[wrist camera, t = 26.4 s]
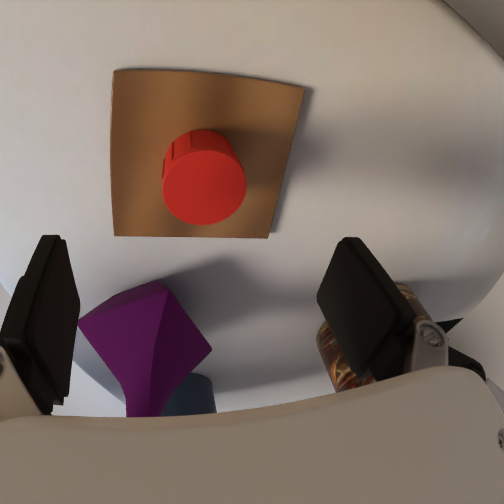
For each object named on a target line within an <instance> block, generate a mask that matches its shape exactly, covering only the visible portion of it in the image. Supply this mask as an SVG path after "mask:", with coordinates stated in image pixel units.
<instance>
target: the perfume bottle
mask: <svg viewBox="0 0 504 504" xmlns="http://www.w3.org/2000/svg"><path fill="white" fill-rule="evenodd" d="M77 325H78V327H79V329H80V330H81V331H82V333H83V334H84V336H85V337H86V338H87V340H88V341H89V342H90V344H91V345H92V347H93V348H94V349H95V351H96V352H97V353H98V354H99V356H100V357H101V358H102V360H103V361H104V362H105V364H106V365H107V367H108V368H109V369H110V371H111V372H112V373H113V375H114V376H115V377H116V379H117V380H118V381H119V383H120V384H121V387H122V390H123V392H124V395H125V397H126V417H161V414H162V412H163V409H164V407H165V405H166V403H167V402H168V400H169V398H170V396H171V395H172V393H173V391H174V390H175V389H176V388H177V387H178V386H179V385H180V384H181V382H182V381H183V380H184V379H185V378H186V377H187V376H188V375H189V373H190V372H191V371H192V370H193V369H194V368H195V367H196V366H197V365H198V364H199V363H200V362H201V361H202V360H203V359H204V358H205V357H206V356H207V355H208V354H209V353H210V352H211V351H212V347H211V346H210V345H209V343H208V342H207V341H206V339H205V338H204V337H203V335H202V334H201V333H200V331H199V330H198V328H197V327H196V326H195V324H194V323H193V322H192V320H191V319H190V318H189V316H188V315H187V313H186V312H185V311H184V309H183V308H182V306H181V305H180V304H179V302H178V301H177V299H176V298H175V296H174V295H173V294H172V292H171V291H170V290H169V289H168V288H167V287H165V286H164V285H163V284H162V283H160V282H159V281H152V282H150V283H147V284H144V285H141V286H139V287H136V288H133V289H130V290H128V291H125V292H122V293H119V294H117V295H114V296H112V297H111V298H109V299H108V300H106V301H105V302H103V303H102V304H100V305H99V306H98V307H96V308H95V309H93V310H92V311H90V312H89V313H87V314H86V315H85V316H83V317H82V318H80V319H79V320H78V324H77Z"/></svg>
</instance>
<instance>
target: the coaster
mask: <svg viewBox="0 0 504 504" xmlns="http://www.w3.org/2000/svg"><path fill="white" fill-rule="evenodd" d="M304 93H305V89H304V88H302V87H298V86H293V85H288V84H283V83H278V82H272V81H266V80H260V79H254V78H247V77H240V76H232V75H224V74H214V73H204V72H191V71H174V70H115V71H114V72H113V81H112V96H111V119H110V175H111V199H112V215H113V228H114V236H152V237H217V238H264V239H267V238H268V236H269V232H270V228H271V224H272V220H273V217H274V213H275V209H276V205H277V201H278V197H279V193H280V189H281V185H282V181H283V177H284V173H285V169H286V165H287V161H288V157H289V153H290V149H291V145H292V141H293V137H294V133H295V129H296V125H297V121H298V117H299V113H300V109H301V105H302V101H303V97H304ZM193 130H210V131H214V132H216V133H218V134H220V135H222V136H223V137H224V138H227V140H228V141H229V143H230V144H231V146H232V148H233V150H234V152H236V154H237V156H238V158H239V160H240V162H241V165H242V167H243V169H244V171H245V172H244V173H245V176H246V181H247V189H246V194H245V197H244V200H243V202H242V204H241V205H240V207H239V208H238V209H237V210H236V211H235V212H234V213H233V214H232V215H231V216H230V217H228V218H227V219H225V220H223V221H221V222H218V223H215V224H210V225H194V224H189V223H186V222H184V221H182V220H180V219H178V218H177V217H176V216H174V215H173V214H172V213H171V212H170V211H169V209H168V208H167V206H166V204H165V202H164V199H163V195H162V184H163V179H162V170H163V160H164V158H165V156H166V153H167V150H168V148H169V147H170V145H171V144H172V142H174V141H175V140H176V139H177V138H178V137H179V136H181V135H183V134H184V133H187V132H188V131H193Z"/></svg>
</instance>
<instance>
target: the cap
mask: <svg viewBox="0 0 504 504" xmlns="http://www.w3.org/2000/svg"><path fill="white" fill-rule="evenodd" d="M244 172H245V171H244V169H243V167H242V165H241V162H240V160H239V158H238V156H237V154H236V152H234V150H233V148H232V146H231V144H230V143H229V141H228V140H227V138H224V137H223V136H222V135H220V134H218V133H216V132H214V131H210V130H193V131H188V132H187V133H184V134H183V135H181V136H179V137H178V138H177V139H176V140H175V141H174V142H172V144H171V145H170V147H169V148H168V150H167V153H166V156H165V158H164V160H163V170H162V179H163V184H162V195H163V199H164V202H165V204H166V206H167V208H168V209H169V211H170V212H171V213H172V214H173V215H174V216H176V217H177V218H178V219H180V220H182V221H184V222H186V223H189V224H194V225H210V224H215V223H218V222H221V221H223V220H225V219H227V218H228V217H230V216H231V215H232V214H233V213H234V212H235V211H236V210H237V209H238V208H239V207H240V205H241V204H242V202H243V200H244V197H245V194H246V189H247V181H246V176H245V173H244Z"/></svg>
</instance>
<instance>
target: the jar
mask: <svg viewBox="0 0 504 504" xmlns="http://www.w3.org/2000/svg"><path fill="white" fill-rule="evenodd" d="M395 284H396V286H397V287H398V289H399V290H400V291H401V293H402V294H403V296H404V297H405V298H406V300H407V301H408V303H409V304H410V305H411V307H412V308H413V310H414V311H415V313H416V314H417V315H418V316H417V317H416V318H415V320H414V323H415V324H417V323H418V322H419V321H420V320H423V319H425V320H430V321H433V320H432V319H431V317H430V316H429V314H428V313H427V311H426V310H425V309H424V307H423V306H422V304H421V303H420V301H419V300H418V299H417V297H416V296H415V294H414V293H413V292H412V291H411V289H410V288H409V287H407V286H406V285H403V284H397V283H395ZM317 346H318V349H319V352H320V354H321V357H322V359H323V362H324V364H325V367H326V369H327V372H328V374H329V376H330V379H331V381H332V384H333V386H334V389H335V391H336V393H338V392H342V391H346V390H350V389H354V388H357V387H361V386H365V385H369V384H372V383H373V381H374V376H373V375H371V376H370V377H368V378H364V379H360V380H358V378H357V376H356V374H355V373H353V372H352V371H351V369H350V367H349V365H348V363H347V361H346V359H345V357H344V355H343V353H342V351H341V349H340V347H339V345H338V343H337V341H336V339H335V337H334V335H333V333H332V331H331V329H330V327H329V325H328V323H327V321H325V322H324V324H323V325H322V327H321V328H320V330H319V332H318V335H317Z"/></svg>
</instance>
